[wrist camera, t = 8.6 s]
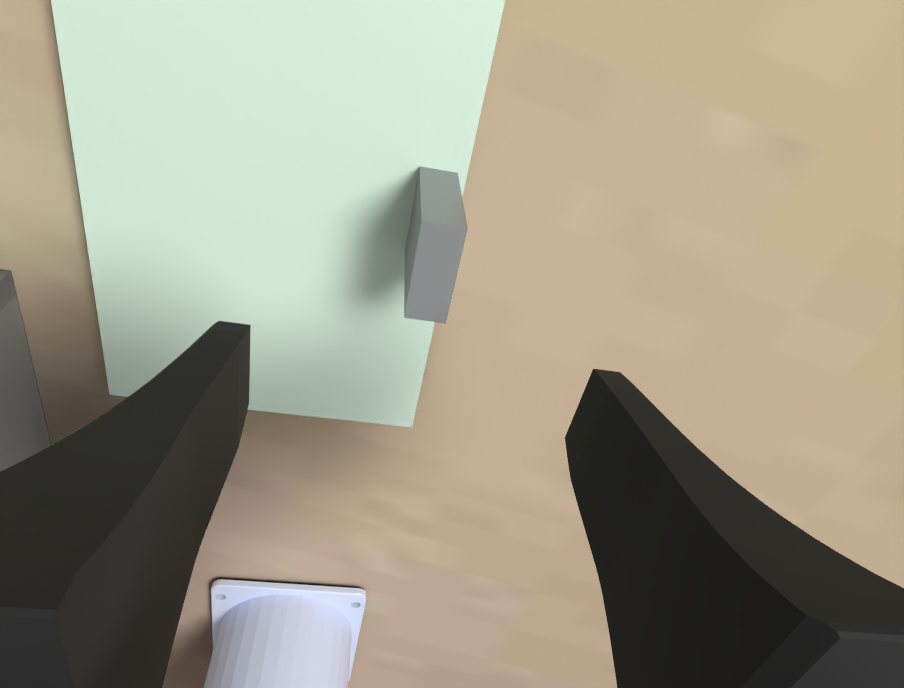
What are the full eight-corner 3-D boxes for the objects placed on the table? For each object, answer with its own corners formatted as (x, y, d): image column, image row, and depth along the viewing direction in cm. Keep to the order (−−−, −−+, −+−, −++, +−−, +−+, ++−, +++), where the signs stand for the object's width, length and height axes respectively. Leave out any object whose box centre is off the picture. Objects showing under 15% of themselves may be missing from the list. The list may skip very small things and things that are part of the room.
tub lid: (411, 407, 27) (412, 504, 22) (121, 375, 25) (61, 473, 20) (527, -133, 16) (568, -143, 12) (38, -259, 14) (-119, -325, 10)
